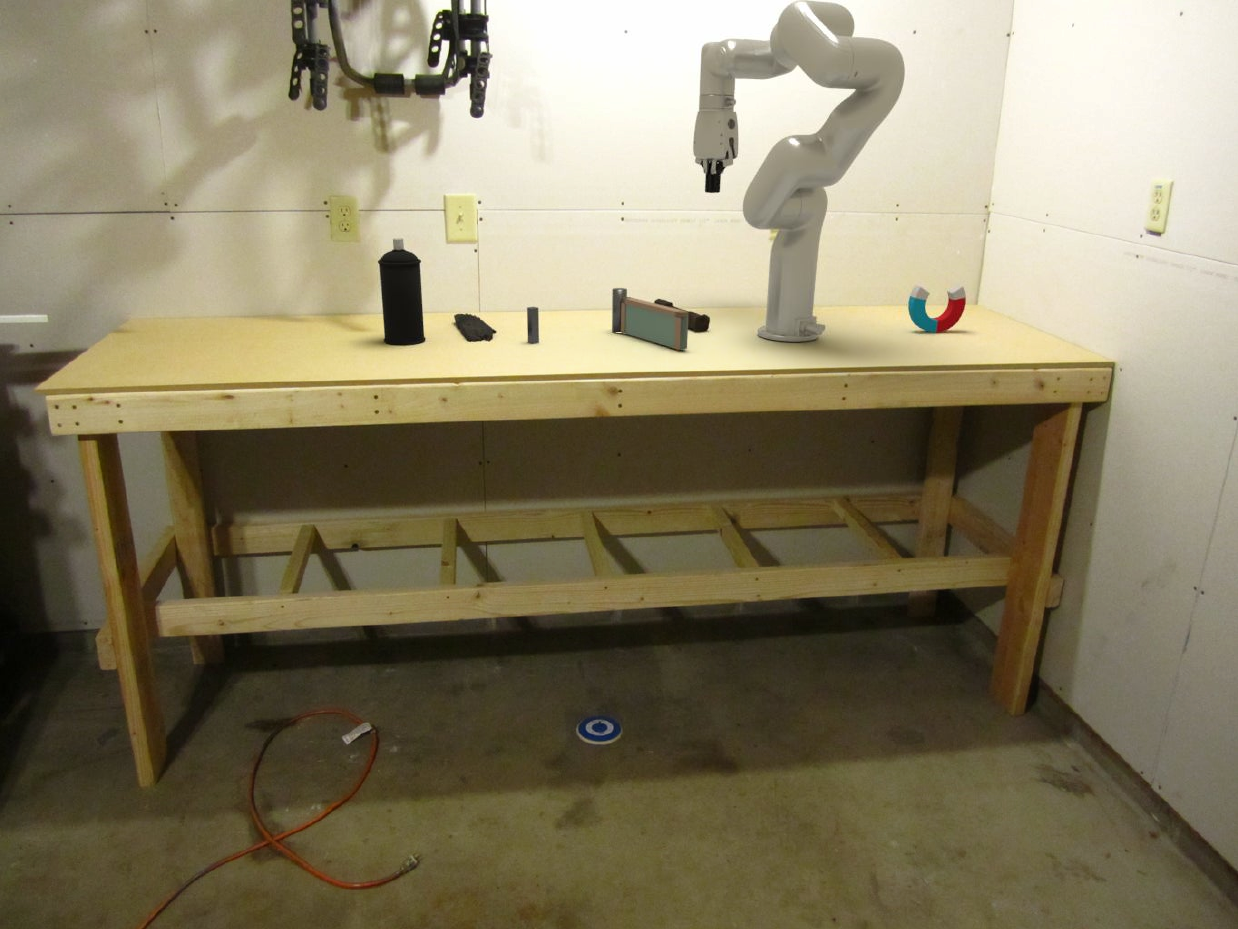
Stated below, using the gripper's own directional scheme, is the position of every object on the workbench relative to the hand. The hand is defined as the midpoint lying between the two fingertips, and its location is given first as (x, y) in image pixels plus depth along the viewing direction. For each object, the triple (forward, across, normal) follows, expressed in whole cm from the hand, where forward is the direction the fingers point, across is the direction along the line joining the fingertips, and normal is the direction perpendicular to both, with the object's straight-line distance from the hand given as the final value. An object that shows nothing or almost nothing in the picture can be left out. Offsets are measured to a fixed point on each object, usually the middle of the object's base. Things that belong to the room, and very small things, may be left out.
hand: (712, 192), depth 210 cm
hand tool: (+28, -5, +15) cm, 32 cm away
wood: (+28, +15, +53) cm, 62 cm away
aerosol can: (+27, +15, +70) cm, 77 cm away
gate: (+27, -15, +31) cm, 44 cm away
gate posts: (+27, -3, +40) cm, 48 cm away
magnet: (+27, -44, -25) cm, 58 cm away
